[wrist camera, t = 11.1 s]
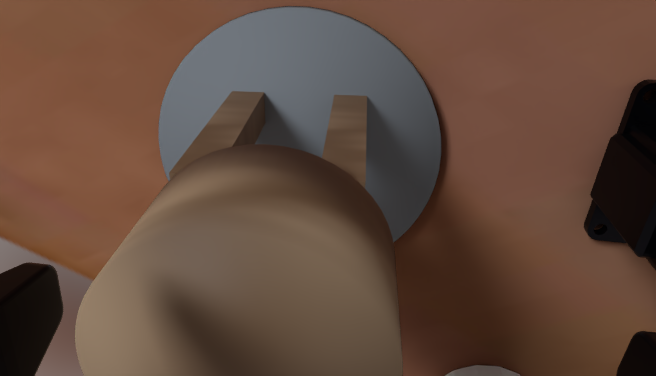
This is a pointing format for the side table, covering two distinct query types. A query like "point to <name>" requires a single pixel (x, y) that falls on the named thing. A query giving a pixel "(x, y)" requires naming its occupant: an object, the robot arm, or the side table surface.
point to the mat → (314, 97)
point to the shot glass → (482, 371)
